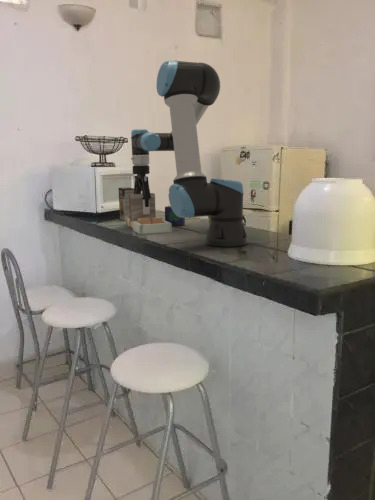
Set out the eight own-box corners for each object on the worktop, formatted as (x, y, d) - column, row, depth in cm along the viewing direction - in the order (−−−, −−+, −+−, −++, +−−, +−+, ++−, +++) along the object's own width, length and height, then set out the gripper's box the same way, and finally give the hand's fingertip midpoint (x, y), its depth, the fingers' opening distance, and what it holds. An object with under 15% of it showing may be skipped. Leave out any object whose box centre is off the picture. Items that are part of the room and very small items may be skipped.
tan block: (155, 220, 210) (154, 193, 207) (132, 221, 206) (131, 194, 204) (152, 219, 214) (152, 193, 211) (129, 220, 210) (128, 194, 207)
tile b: (148, 229, 200) (150, 230, 197) (138, 230, 198) (140, 231, 196) (147, 217, 199) (149, 218, 196) (137, 218, 197) (139, 219, 195)
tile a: (160, 228, 202) (162, 229, 199) (151, 229, 201) (152, 230, 198) (160, 217, 201) (162, 217, 198) (150, 217, 200) (152, 218, 197)
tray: (171, 232, 194) (171, 223, 193) (140, 234, 189) (140, 225, 188) (163, 228, 205) (162, 219, 204) (133, 230, 200) (132, 221, 199)
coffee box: (119, 219, 238) (117, 187, 235) (131, 218, 240) (130, 187, 237) (124, 221, 230) (123, 188, 226) (136, 220, 232) (135, 188, 229)
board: (160, 228, 204) (160, 222, 203) (136, 230, 200) (135, 223, 200) (147, 222, 222) (147, 216, 222) (125, 224, 219) (125, 218, 218)
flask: (185, 225, 214) (184, 202, 212) (184, 226, 211) (184, 202, 209) (165, 225, 214) (164, 202, 212) (164, 226, 211) (164, 203, 209)
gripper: (126, 164, 215) (127, 210, 219) (139, 165, 192) (141, 216, 196) (141, 164, 218) (143, 209, 222) (157, 165, 195) (158, 215, 199)
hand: (142, 212), depth 209 cm, fingers open, 13 cm apart
